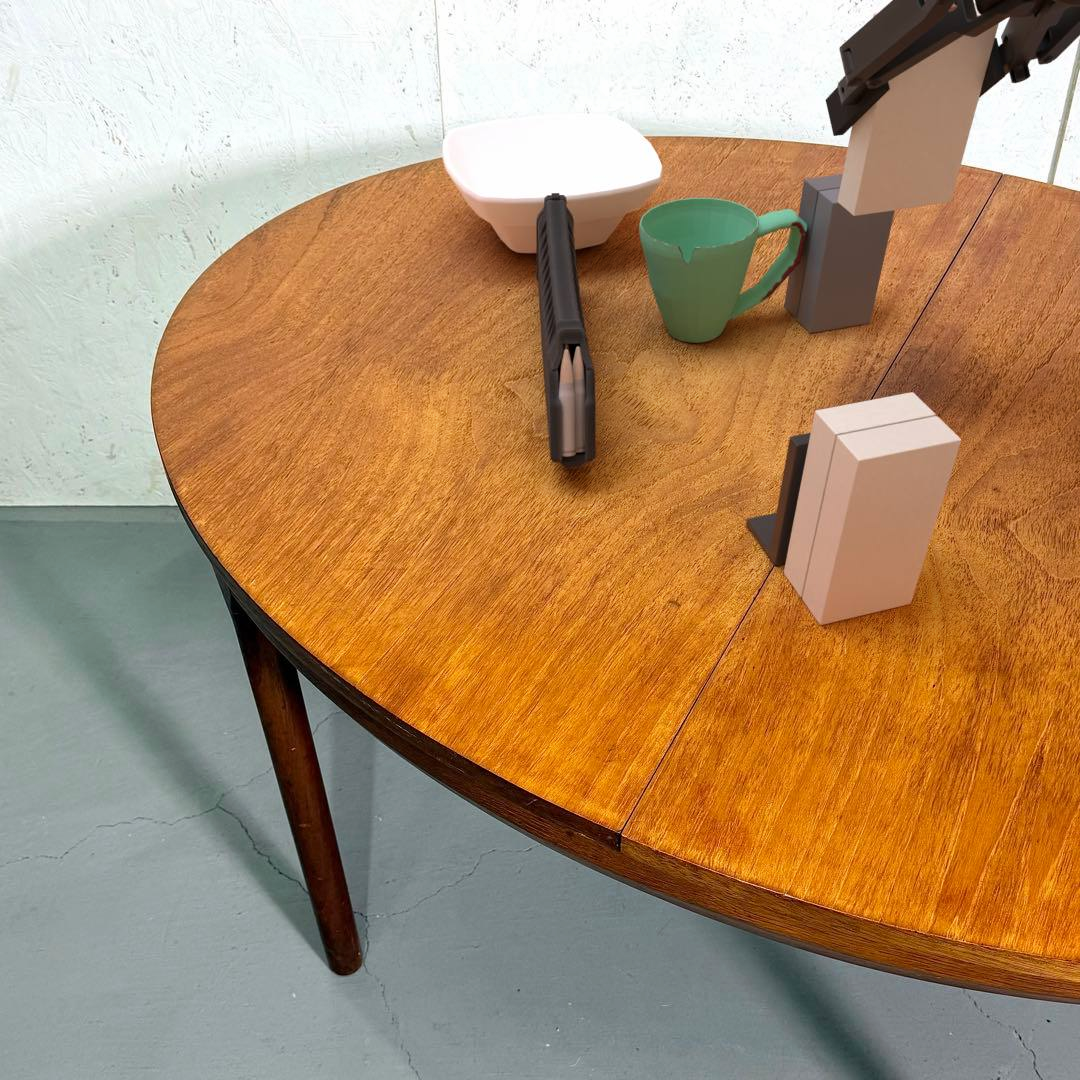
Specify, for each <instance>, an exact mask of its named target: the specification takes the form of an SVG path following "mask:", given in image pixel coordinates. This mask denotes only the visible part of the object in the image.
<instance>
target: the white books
mask: <svg viewBox="0 0 1080 1080" xmlns="http://www.w3.org/2000/svg"><path fill="white" fill-rule="evenodd" d="M961 443H962V439H961V437H959V435H957V433H956V432H955V431H953V430H952V428H950V426H948V425H947V424H946V423H945V421H944V420H942V419H941V418H940V417H939V416H937V415H936V413H935V412H934V411H933V410H932V409H931V407H929V406H928V405H927V404H926V403H925V402H923V400H921V398H920V397H919V396H917V394H915V392H914V391H911V392H906V393H901V394H900V393H899V394H894V395H891V396H889V395H888V396H885V397H880V398H879V397H878V398H875V399H869V400H864V401H858V402H853V403H848V404H843V405H837V406H832V407H827V408H821V409H815V410H814V414H813V419H812V425H811V430H810V432H807V433H801V434H796V435H791V436H790V437H789V440H788V446H787V452H786V457H785V461H784V462H785V463H784V468H783V474H782V479H781V485H780V491H779V495H778V496H779V497H778V502H777V507H776V512H773V513H768V514H763V515H758V516H754V517H750V518H747V519H746V523H745V525H746V527H747V528H748V530H749V531H750V533H751V535H753V536H752V537H754V539H755V540H756V541H757V543H758V544H759V547H761V549H762V550H763V551H764V553H765V555H767V557H768V559H769V560H770V562H771V563H772V564H773V566H774V567H777V566H782V565H784V569H783V574H784V576H785V578H786V579H787V581H788V582H789V583H790V585H791V586H792V588H793V589H794V591H795V592H796V593H797V595H798V596H799V598H800V599H801V600H802V602H803V603H804V604H805V606H806V607H807V609H808V610H809V611H810V613H811V614H812V616H813V617H814V619H815V620H816V622H817V623H818V624H819V626H824V625H828V624H833V623H835V622H836V623H837V622H840V621H845V620H849V619H854V618H857V617H861V616H866V615H869V614H874V613H879V612H882V611H886V610H891V609H895V608H900V607H903V606H908V605H911V604H912V601H913V597H914V595H915V591H916V589H917V585H918V582H919V578H920V575H921V572H922V570H923V566H924V564H925V563H924V562H925V559H926V556H927V553H928V549H929V547H930V543H931V541H932V537H933V534H934V530H935V526H936V523H937V520H938V517H939V514H940V511H941V508H942V504H943V501H944V498H945V494H946V491H947V488H948V486H949V485H948V484H949V482H950V479H951V475H952V472H953V468H954V465H955V463H956V459H957V456H958V453H959V450H960V446H961Z"/></svg>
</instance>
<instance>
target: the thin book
mask: <svg viewBox="0 0 1080 1080" xmlns="http://www.w3.org/2000/svg"><path fill="white" fill-rule="evenodd" d="M974 5H975V9H976V13H977V17H978V16H980V15H981V14H979V12H978V11H977V8H976V4H975V2H974ZM878 13H879V12H873V15H872V18H873V17H874V16H875V15H876V14H878ZM999 24H1000V23H998V24H997V25H995V26H993V27H992V28H990V29H988V30H987V31H985V32H983V33H982V34H980V35H978V36H977V37H969V36H965V35H964V36H962V37H960V38H959V39H957V40H955V41H954V42H952V43H950V44H949V45H947V46H946V47H944V48H942V49H941V50H939V51H937V52H936V53H934V54H932V55H931V56H929V57H928V58H926V59H924V60H923V61H921V62H919V63H918V64H916V65H914V66H913V67H911V68H910V69H908V70H906V71H905V72H903V73H901V74H900V75H898V76H896V77H895V78H893V79H892V80H890V81H888V83H889V87H890V90H889V91H888V92H887V93H886V94H885V95H884V96H883V97H882V98H881V99H879V100H878V101H877V102H876V103H875V104H874V105H873V106H872V107H871V108H870V109H869V110H868V111H867V112H866V113H865V114H864V115H863V116H862V117H861V118H860V119H859V120H858V121H857V122H856V123H855V124H854V125H853V126H852V127H851V128H850V135H849V141H848V144H847V149H846V155H845V162H844V166H843V171H842V174H843V176H842V181H841V186H840V191H839V196H838V203H839V204H840V205H842V206H843V207H844V208H845V209H846V210H847V211H849V212H850V213H851V214H852V215H853V216H858V215H865V214H872V213H879V212H886V211H893V210H895V211H899V210H905V209H906V210H907V209H912V208H920V207H927V206H934V205H941V204H947V203H952V200H953V196H954V193H955V188H956V185H957V181H958V178H959V172H960V169H961V166H962V163H963V159H964V155H965V152H966V148H967V144H968V140H969V136H970V133H971V129H972V125H973V122H974V118H975V115H976V114H975V113H976V110H977V106H978V103H979V99H980V98H979V96H980V92H981V88H982V84H983V81H984V77H985V73H986V69H987V66H988V62H989V58H990V54H991V51H992V47H993V43H994V40H995V38H996V36H997V32H998V28H999Z"/></svg>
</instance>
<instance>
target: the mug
mask: <svg viewBox="0 0 1080 1080" xmlns="http://www.w3.org/2000/svg"><path fill="white" fill-rule="evenodd" d="M786 229H790V232H789V235H788V239H787V243H786V246H785V247H784V249H782V251H781V253H780V254H779V255H778V257H777V258H776V259H775V261H774V262H773V263H772V265H771V266H770V267H769V268H768V270H767V271H766V272H765V274H764V275H763V276H762V277H761V279H760V280H759V281H758V282H757V284H755V285H753V286H751V287H750V288H748V289H746V290H745V291H743V292H742V289H743V286H744V285H745V284H744V283H745V281H746V276H747V273H748V270H749V266H750V262H751V259H752V256H753V253H754V250H755V247H756V245H757V244H756V243H757V241H758V239H760V238H763V237H764V236H767V235H769V234H772V233H774V232H778V231H779V230H786ZM806 232H807V224H806V223H805V222H804V221H803V220H802V219H801V218H800V217H799V216H798V214H797V212H795V211H794V210H793V209H791V208H786V209H779V210H774V211H770V212H767V213H764V214H763V215H760V216H757V214H756V213H755V212H754V211H753V210H751V209H750V208H748V207H747V206H745V205H744V204H741V203H738V202H735V201H731V200H728V199H721V198H715V197H688V198H679V199H678V198H677V199H674V200H670V201H665V202H662V203H660V204H658V205H656V206H654V207H652V208H649V209H648V210H647V211H646V212H645V213H644V214H643V215H642V216H641V217H640V221H639V225H638V233H639V241H640V244H641V248H642V251H643V255H644V260H645V263H646V268H647V274H648V275H647V276H648V280H649V284H650V286H651V290H652V293H653V296H654V299H655V302H656V305H657V308H658V311H659V313H660V316H661V318H662V320H663V322H664V324H665V327H666V330H667V332H668V335H670V336H671V337H672V338H674V339H676V340H678V341H680V342H685V343H690V344H691V343H693V344H694V343H695V344H699V343H707V342H709V341H713V340H715V339H716V338H718V337H720V336H721V334H722V333H723V331H724V329H725V327H726V325H727V324H728V323H729V322H731V321H732V320H734V319H736V318H738V317H739V316H741V315H743V314H744V313H746V312H748V311H750V310H751V309H753V308H754V307H756V306H758V305H760V304H761V303H764V302H765V301H766V300H768V299H769V298H770V297H772V295H773V294H774V293H775V291H776V290H777V289H778V288H779V287H780V286H781V285H782V284H783V283H784V281H786V279H788V278H789V274H790V273H791V272H792V271H793V270H794V269H795V268H796V267H797V265H798V264H799V263H800V261H801V256H802V252H803V247H804V242H805V237H806ZM741 292H742V293H741Z"/></svg>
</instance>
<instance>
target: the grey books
mask: <svg viewBox="0 0 1080 1080" xmlns="http://www.w3.org/2000/svg"><path fill="white" fill-rule="evenodd" d="M842 176H843V173H839V174H838V173H837V174H831V175H825V176H824V175H823V176H815V177H810V178H804V179H803V183H802V190H801V196H800V202H799V209H798V214H797V215H798V216H799V217H800V218H801V219H802V220H803V221H804V222H805V223H806V224H807V232H806V237H805V242H804V247H803V252H802V256H801V261H800V263H799V264H798V265H797V267H796V268H795V269H794V270H793V271H792V272H791V273H790V274H789V276H788V277H787V284H786V291H785V297H784V305H783V307H784V309H785V310H787V311H788V313H790V314H791V316H792V317H793V318H794V319H796V321H797V322H798V323H799V324H800V325H801V326H802V327H803V329H805V330H806V331H807V332H808V334H813V333H814V334H815V333H820V332H825V331H832V330H838V329H844V328H849V327H854V326H855V327H856V326H861V325H867V324H871V321H872V316H873V312H874V307H875V302H876V297H877V294H878V289H879V285H880V279H881V275H882V271H883V266H884V261H885V257H886V254H887V253H886V252H887V248H888V243H889V240H890V234H891V229H892V225H893V221H894V215H895V212H896V210H893V211H886V212H879V213H872V214H865V215H858V216H853V215H852V214H851V213H850V212H849V211H847V210H846V209H845V208H844V207H843V206H842V205H840V204H839V203H838V196H839V191H840V186H841V181H842Z"/></svg>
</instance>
